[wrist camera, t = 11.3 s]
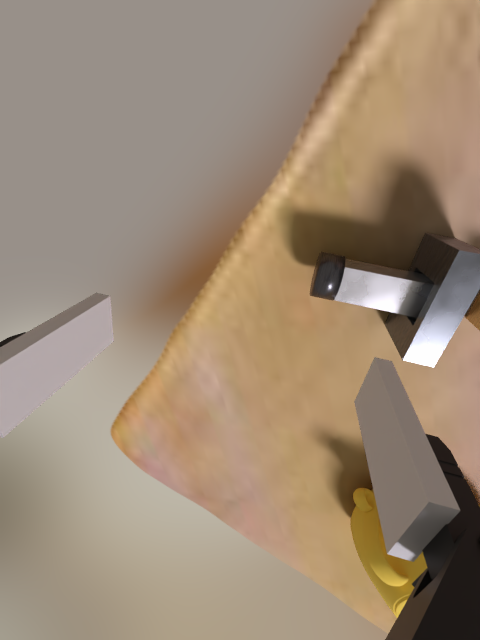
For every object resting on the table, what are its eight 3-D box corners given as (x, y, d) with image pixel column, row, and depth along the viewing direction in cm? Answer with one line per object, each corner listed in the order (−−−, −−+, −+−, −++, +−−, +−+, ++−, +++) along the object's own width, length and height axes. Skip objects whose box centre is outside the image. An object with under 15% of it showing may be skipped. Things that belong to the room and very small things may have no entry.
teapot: (546, 538, 39) (652, 702, 27) (433, 574, 47) (476, 710, 35) (401, 441, 36) (447, 572, 24) (310, 497, 45) (312, 615, 33)
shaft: (309, 286, 29) (310, 302, 25) (320, 247, 27) (322, 258, 23) (435, 313, 27) (454, 333, 24) (457, 273, 25) (480, 289, 22)
